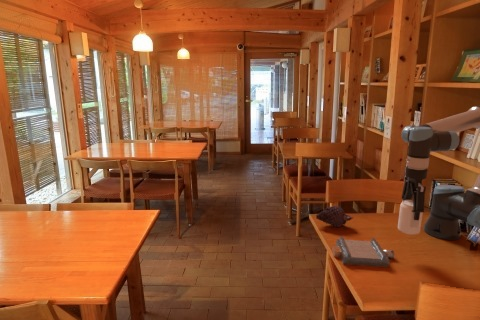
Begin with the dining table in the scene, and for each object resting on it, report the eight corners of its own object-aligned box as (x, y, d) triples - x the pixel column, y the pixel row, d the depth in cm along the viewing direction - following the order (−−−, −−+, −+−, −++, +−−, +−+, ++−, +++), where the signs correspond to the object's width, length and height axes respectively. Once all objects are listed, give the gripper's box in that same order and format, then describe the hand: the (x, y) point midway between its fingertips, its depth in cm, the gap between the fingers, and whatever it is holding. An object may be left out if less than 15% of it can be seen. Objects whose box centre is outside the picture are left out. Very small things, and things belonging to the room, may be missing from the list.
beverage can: (422, 236, 131) (426, 207, 128) (400, 234, 132) (403, 205, 129) (416, 227, 138) (420, 200, 135) (395, 225, 140) (398, 198, 137)
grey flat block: (386, 248, 142) (387, 238, 141) (399, 267, 128) (400, 257, 127) (330, 245, 144) (330, 235, 143) (336, 263, 130) (337, 253, 129)
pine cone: (317, 229, 159) (318, 209, 157) (313, 221, 169) (314, 202, 166) (354, 230, 159) (356, 211, 156) (348, 222, 168) (350, 203, 166)
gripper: (396, 160, 139) (391, 211, 145) (418, 174, 119) (410, 233, 125) (415, 160, 139) (409, 212, 144) (440, 175, 118) (431, 234, 124)
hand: (409, 222), depth 134 cm, fingers closed on beverage can, 8 cm apart
